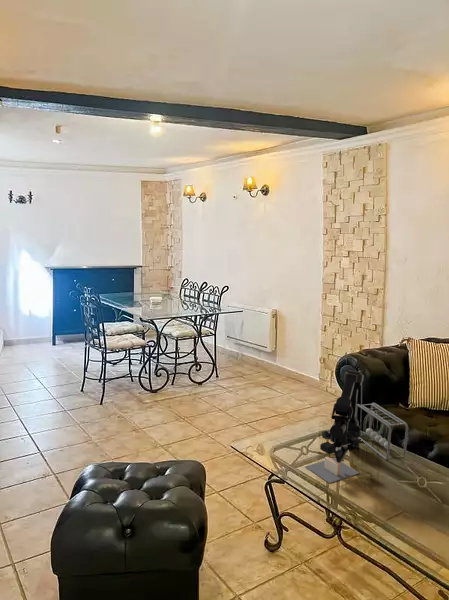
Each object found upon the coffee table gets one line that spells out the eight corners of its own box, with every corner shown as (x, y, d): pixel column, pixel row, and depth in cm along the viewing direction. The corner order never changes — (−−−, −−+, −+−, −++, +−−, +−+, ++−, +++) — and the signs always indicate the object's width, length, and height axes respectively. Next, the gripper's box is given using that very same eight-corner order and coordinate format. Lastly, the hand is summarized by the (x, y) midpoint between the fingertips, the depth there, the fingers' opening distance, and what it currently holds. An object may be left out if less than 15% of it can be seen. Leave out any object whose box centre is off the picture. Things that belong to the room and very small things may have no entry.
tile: (327, 466, 235) (327, 456, 234) (339, 474, 228) (340, 464, 227) (324, 467, 234) (324, 457, 233) (336, 475, 227) (337, 465, 226)
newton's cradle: (352, 434, 271) (355, 402, 268) (370, 432, 274) (372, 401, 271) (386, 461, 243) (390, 426, 240) (405, 459, 246) (409, 424, 243)
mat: (334, 458, 244) (334, 457, 244) (359, 473, 230) (359, 472, 230) (304, 467, 234) (305, 466, 234) (329, 483, 221) (329, 482, 221)
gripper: (343, 419, 241) (340, 450, 244) (313, 426, 231) (310, 459, 234) (361, 428, 232) (358, 460, 234) (330, 436, 222) (327, 470, 225)
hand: (338, 462), depth 232 cm, fingers closed
